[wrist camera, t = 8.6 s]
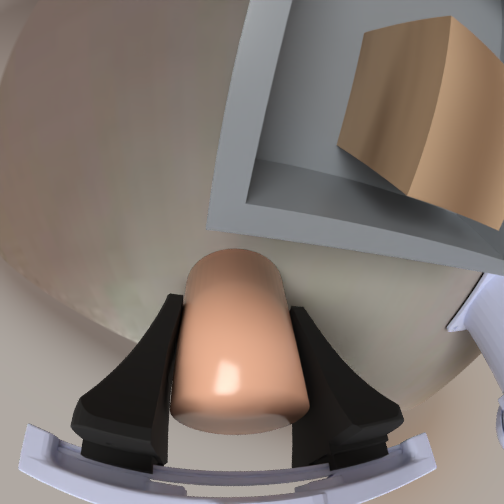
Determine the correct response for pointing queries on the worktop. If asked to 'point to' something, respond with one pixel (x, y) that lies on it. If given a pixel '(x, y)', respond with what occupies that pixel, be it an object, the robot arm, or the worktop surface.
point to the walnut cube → (431, 116)
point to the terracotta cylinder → (236, 349)
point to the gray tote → (331, 137)
